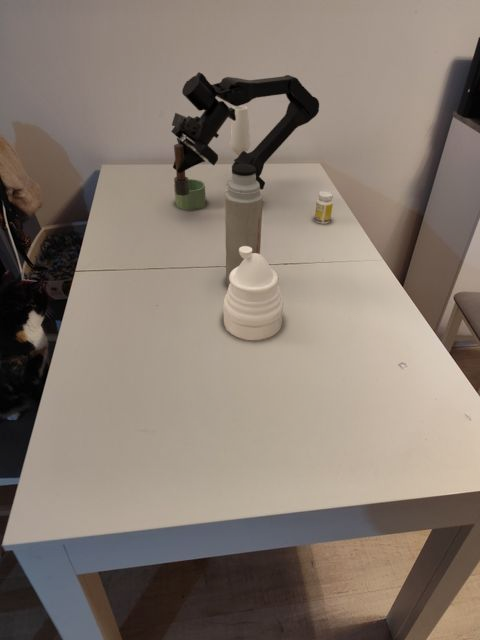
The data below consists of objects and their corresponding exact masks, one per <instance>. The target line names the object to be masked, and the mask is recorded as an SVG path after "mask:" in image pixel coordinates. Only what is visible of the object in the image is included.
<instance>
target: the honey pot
mask: <svg viewBox="0 0 480 640" xmlns="http://www.w3.org/2000/svg"><path fill="white" fill-rule="evenodd" d="M239 253H240V256H241V257H242V258H244V260H243V261H242V263H241V264H240V266H238V267H236V268H235V269H233V270H232V271H231V273H230V275H229V280H230V284H229V287H228V286H227V291H226V294H225V295H224V299H223V302H222V303H223V309H222V310H223V325H224V327H225V329H226V331H227V332H229V334H231V335H232V336H234V337H236V338H239V339H242V340H247V341H262V340H266V339H269V338H271V337H273V336H275V335H277V333H278V332H279V331H280V330H281V328H282V325H283V314H284V301H283V297H282V294H281V290H280V287H279V285H278V283H279V276H278V274H277V272H276V271H275V269H273V268H272V267H271V265H270V264H269V263H268V261H267V260H266V258H265V257H264V256H263V255H261V253H260V254H258V253H252V248H251V247H248V246H242V247H240V248H239Z"/></svg>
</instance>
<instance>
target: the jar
mask: <svg viewBox="0 0 480 640" xmlns="http://www.w3.org/2000/svg"><path fill="white" fill-rule="evenodd" d="M188 180H189V194H188V195H183V196H181V195H177V194H176V193H175V192H174V200H175V206H176V207H177V208H179V209H181V210H185V211H194V210H195V211H197V210H200V209H203V208H204V207H205V206H206V204H207V199H206V196H207V195H206V184H205V182H203V181H202V180H200V179H194V178H188ZM173 189H174V191H175V183H174V184H173Z"/></svg>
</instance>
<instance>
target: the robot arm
mask: <svg viewBox="0 0 480 640" xmlns="http://www.w3.org/2000/svg"><path fill="white" fill-rule="evenodd" d="M181 91H182V92H181V93H182V96H184V97H185V98H186V99H187V100H188V102H189V103H191V104H192V105H193V106H194V107H195V108H196V110H197V111H200V112H201V111H203V112H202V114H201V115H200V116H198V115H197V116H194V117H193V116H190V115H188V116H185V115H182V114H180V113H177V112H175V113H174V116H173V119H172V122H171V126H172V127H173V128H172V130H171V133H172V134H173V135H174V136H176V141H177V144H182V145H183V152H184V158H183V160H182V161H181V163H180V165H179V167H178V169H177V172H179V173H181V172H183V171H185V172H186V171H187V170H189V169H191V168H193V167H194V166H197V165H199V164H203V163H205V162H206V160H207V161H208V163H209V164H210V165H212V166H215V165H216V164H217V162H218V161H219V154H218V153H216V151H215V150H213V149H212V148H211V147H210V146H209V145H210V143H211V141H212V140H213V139H214V138H215V139H218V137H219V136H220V135H219V133H218V132H219V131H220V129H221V128H222V126H223V125H224V124H225V122H226V121H227V120H228V119H230V120H234V121H235V120H236V116H235V109H233V108H232V107H229V106H228V105H227V104H226V103H228V104H230V105H232V106H233V107H234V106H244V105H245V104H246V105H247V104H248V103H250V102H251V101H253V100H254V99H257V98H265V97H274V96H281V95H285V96H286V98H287V100H288V101H289V103H288V104H287V109H286V112H285V114H284V116H283V117H282V118H281V119H280V120H279V121H278V122H277V124H275V126H274V127H273V128H272V129H271V130H270V131H269V133H268V134H266V136H265V137H264V138H263V139H261V142H259V144H258V145H257V146H256V147H255V148H254V149H253V150H252V151H250V152H245V151H243V152H241V154H240V155H239V157H238V156H237V157H236V158H235V159H234V160H233V164H232V165H231V168H232V167H233V166H234V165H237V164H249V165H252V166H254V167H255V168H256V173H255V174H256V181H257V182H259V184H260V191H261V190H264V188H265V184H266V182H265V180H263V179H262V178H261V175H262V172H263V169H264V166H265V163H266V162H267V161H268V160H269V159H270V158H271V157H272V155H274V153H275V152H276V151H277V150H278V149H279V148H280V147H281V146H282V145H283V143H284V142H285V141H286V140H288V138H289V137H290V136H291V135H292V133H293V132H295V131H296V129H298V128H299V127H301V126H303V125H306V124H308V123H309V122H311V121H312V120H313V119H314V118H316V117H317V116H318V114H319V111H320V102H319V99H318V98H317V97H315V96H313V95H312V94H311V93H310V91H308V90H307V88H306V87H305V86H304V85H303V84H302V83H301V82H300V80H299V79H298V78H297V77H295V76H293V75H289V74H286V75H284V76H283V75H282V76H275V77H266V78H259V79H246V78H245V79H244V78H239V77H232V76H225V77H223V78H222V79H221V80H220V82H216V83H213V84H211V83H210V81H208V79H207V78H206V76H205V75H204V74H203V73H202V72H200V71H199V72H197V73H196V74H195V75H193V76H192V77H191V78H189V79H188V80H186V82H184V85H183V87H182V90H181ZM218 98H219V99H220V100H218ZM205 159H206V160H205ZM172 168H173V170H175V171H176V163H175V161H173V165H172ZM231 175H233V172H232V171H231Z"/></svg>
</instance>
